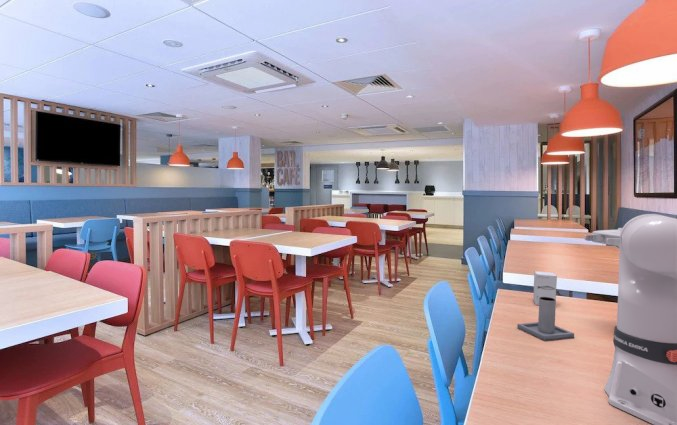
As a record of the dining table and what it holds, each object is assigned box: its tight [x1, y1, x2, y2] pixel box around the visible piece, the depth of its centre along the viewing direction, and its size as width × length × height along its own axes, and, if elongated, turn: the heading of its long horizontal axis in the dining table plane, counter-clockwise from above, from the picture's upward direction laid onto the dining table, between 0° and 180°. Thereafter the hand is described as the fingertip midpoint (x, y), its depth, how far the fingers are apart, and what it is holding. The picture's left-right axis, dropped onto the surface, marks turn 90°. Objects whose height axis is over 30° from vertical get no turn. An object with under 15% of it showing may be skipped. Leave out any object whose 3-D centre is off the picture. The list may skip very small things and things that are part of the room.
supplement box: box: [532, 270, 558, 306], centre depth 148 cm, size 7×7×13 cm
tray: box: [516, 321, 575, 342], centre depth 116 cm, size 11×11×2 cm
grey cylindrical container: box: [537, 297, 557, 334], centre depth 116 cm, size 4×4×10 cm
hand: (595, 239), depth 113 cm, fingers open, 8 cm apart
